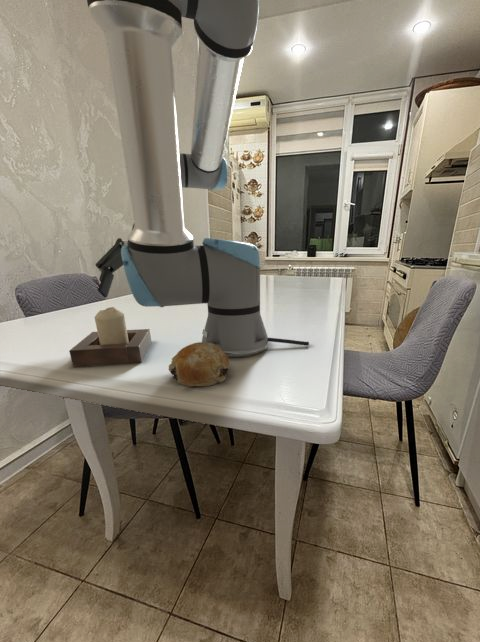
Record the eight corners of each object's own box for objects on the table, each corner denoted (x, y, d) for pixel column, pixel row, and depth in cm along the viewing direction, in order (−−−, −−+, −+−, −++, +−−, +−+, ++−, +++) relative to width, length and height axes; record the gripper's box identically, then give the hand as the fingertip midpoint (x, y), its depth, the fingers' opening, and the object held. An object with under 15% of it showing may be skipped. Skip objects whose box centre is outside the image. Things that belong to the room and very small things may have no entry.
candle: (112, 348, 66) (104, 305, 63) (135, 349, 65) (128, 306, 62) (96, 357, 61) (86, 311, 58) (121, 359, 60) (112, 311, 57)
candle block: (151, 342, 70) (149, 328, 69) (141, 362, 59) (138, 346, 57) (95, 346, 68) (92, 331, 67) (73, 367, 56) (68, 350, 55)
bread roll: (208, 409, 49) (225, 372, 46) (154, 381, 49) (168, 341, 46) (226, 383, 58) (242, 350, 55) (181, 359, 58) (194, 325, 55)
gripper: (198, 238, 80) (186, 303, 71) (111, 238, 81) (88, 302, 72) (191, 215, 73) (177, 284, 64) (96, 216, 74) (69, 283, 66)
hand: (130, 294), depth 68 cm, fingers open, 13 cm apart
